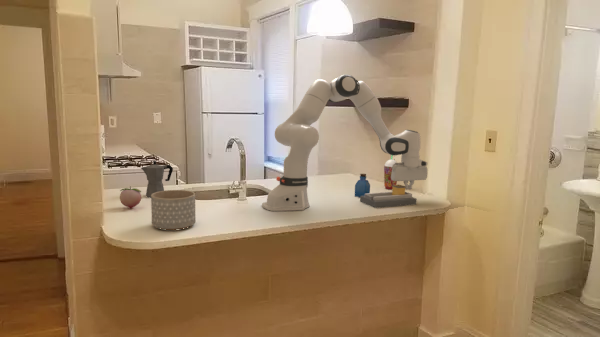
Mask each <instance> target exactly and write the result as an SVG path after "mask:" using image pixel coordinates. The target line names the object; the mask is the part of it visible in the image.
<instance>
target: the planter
mask: <svg viewBox="0 0 600 337" xmlns="http://www.w3.org/2000/svg"><path fill="white" fill-rule="evenodd" d="M150 200H151V201H150V203H151V204H150V208H151V209H150V210H151V226H153V227H154V228H156V229H158V228H161V229H166V230H176V229H183V228H187V227H189V226H190V227H192V226H193V225H195V224H196V223H197V222H196V193H195V192H194V191H192V190H191V191H190V190H185V189H184V190H183V189H170V190H169V189H167V190H164V191H159V192H155V193H153V194H152V195H151V199H150ZM190 227H189V228H190ZM187 229H188V228H187ZM166 230H165V231H166ZM183 230H184V229H183ZM176 231H177V230H176Z"/></svg>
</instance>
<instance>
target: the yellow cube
mask: <svg viewBox="0 0 600 337" xmlns="http://www.w3.org/2000/svg"><path fill="white" fill-rule="evenodd" d="M392 186H393V188H392V191H391V192H392V195H403V194H405V192H406V189H405V188H406V186H405V185H402V184H396V185H392Z"/></svg>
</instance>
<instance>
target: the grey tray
mask: <svg viewBox="0 0 600 337" xmlns="http://www.w3.org/2000/svg"><path fill="white" fill-rule="evenodd" d="M359 202H360V203H362V204H363V205H364V204H365V205H367V206H369V207H372V208H374V209H381V208H392V207H403V206H405V207H406V206H413V205H417V198H416V197H413V193H411V192H408V191H405V194H403V195H392V191H382V192H372V193H371V192H370V193H366V194H365V196H360V197H359Z"/></svg>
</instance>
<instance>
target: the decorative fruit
mask: <svg viewBox="0 0 600 337" xmlns="http://www.w3.org/2000/svg"><path fill="white" fill-rule="evenodd" d="M119 192H120V195H119V201H120V203H121V204H122V205H123V206H124V207H127V208H129V209H132V208H134V207H137V206H138V205H139V204H140V202H141V201H142V191H141V190H140V189H138V188H131V186H130V185H129V188H128V187H126V188H122V189H119Z"/></svg>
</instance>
